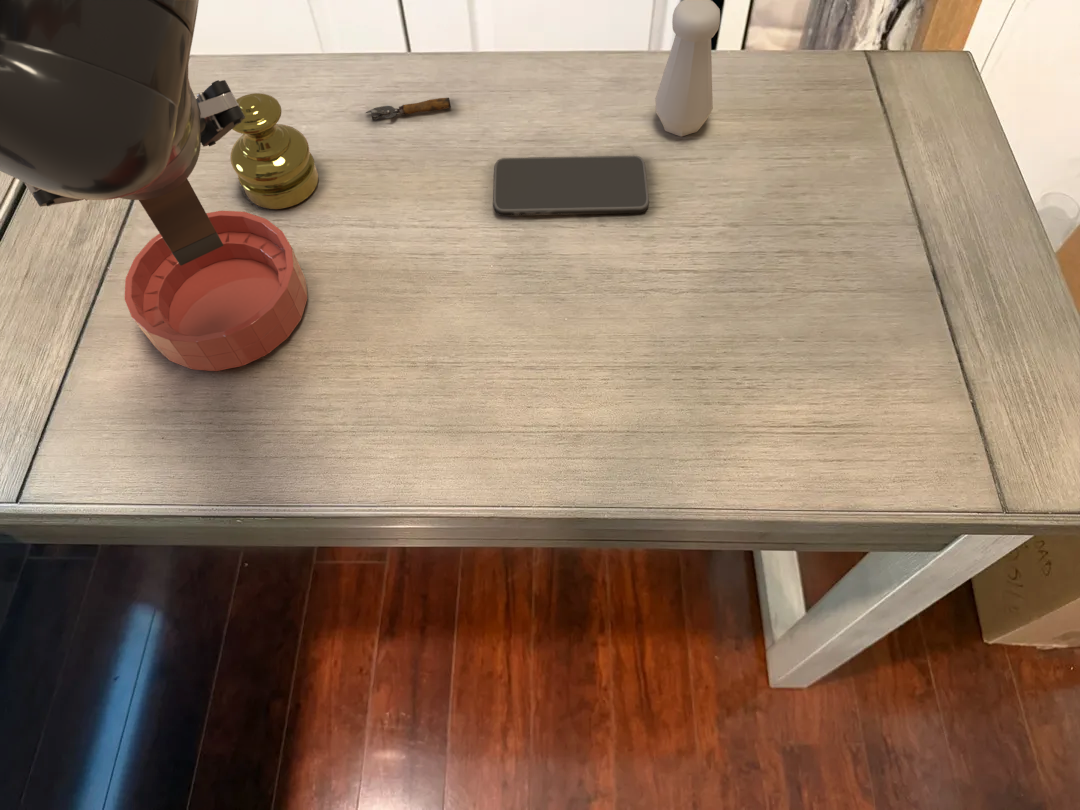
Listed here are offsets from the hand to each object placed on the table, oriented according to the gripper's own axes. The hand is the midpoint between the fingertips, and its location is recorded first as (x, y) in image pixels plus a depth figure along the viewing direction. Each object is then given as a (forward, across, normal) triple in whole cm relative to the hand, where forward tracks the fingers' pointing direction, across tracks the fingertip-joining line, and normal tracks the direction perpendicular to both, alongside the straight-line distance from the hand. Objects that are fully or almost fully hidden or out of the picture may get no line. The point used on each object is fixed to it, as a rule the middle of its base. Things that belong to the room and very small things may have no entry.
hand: (146, 161), depth 58 cm
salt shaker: (+9, -48, +16) cm, 51 cm away
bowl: (+13, 0, +12) cm, 18 cm away
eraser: (+3, 0, +6) cm, 6 cm away
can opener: (+22, -26, +3) cm, 34 cm away
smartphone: (+9, -33, +16) cm, 38 cm away
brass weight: (+21, -10, +4) cm, 24 cm away
